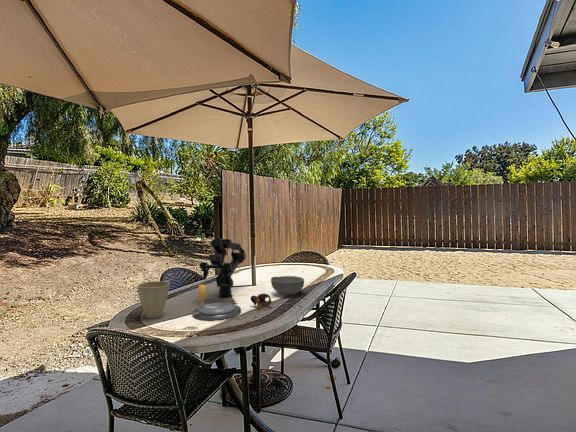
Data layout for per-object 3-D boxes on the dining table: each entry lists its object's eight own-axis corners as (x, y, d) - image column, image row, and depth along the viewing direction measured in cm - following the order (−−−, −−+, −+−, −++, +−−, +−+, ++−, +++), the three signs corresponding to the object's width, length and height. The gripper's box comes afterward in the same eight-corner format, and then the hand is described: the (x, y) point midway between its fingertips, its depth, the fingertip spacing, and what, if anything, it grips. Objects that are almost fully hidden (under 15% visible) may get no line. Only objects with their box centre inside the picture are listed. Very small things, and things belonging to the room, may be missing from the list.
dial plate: (223, 303, 195) (223, 300, 195) (250, 312, 178) (250, 309, 178) (183, 313, 178) (183, 310, 178) (208, 324, 161) (208, 320, 161)
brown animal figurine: (273, 305, 192) (274, 294, 188) (267, 317, 184) (268, 306, 180) (252, 299, 194) (253, 288, 190) (246, 310, 187) (247, 299, 182)
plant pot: (151, 322, 165) (150, 289, 164) (131, 317, 172) (130, 285, 172) (176, 314, 177) (175, 282, 177) (157, 309, 185) (156, 279, 185)
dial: (239, 305, 185) (239, 282, 185) (227, 316, 167) (226, 290, 167) (206, 304, 189) (206, 281, 188) (191, 314, 171) (190, 289, 171)
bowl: (291, 300, 200) (291, 283, 199) (264, 295, 212) (264, 279, 212) (310, 293, 216) (310, 277, 215) (284, 288, 228) (284, 273, 228)
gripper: (200, 248, 200) (190, 271, 190) (230, 248, 195) (222, 272, 185) (206, 259, 208) (198, 282, 198) (236, 260, 203) (229, 283, 193)
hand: (211, 280), depth 193 cm, fingers open, 9 cm apart
